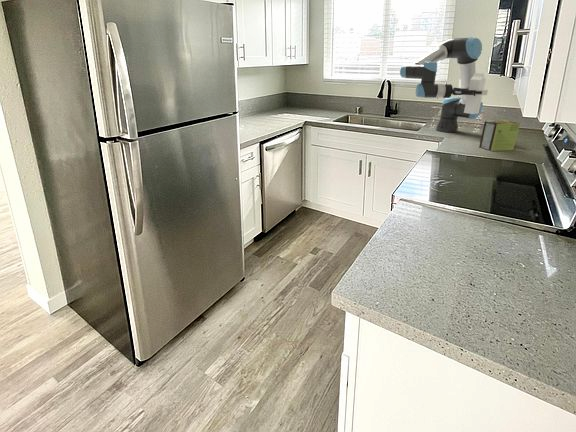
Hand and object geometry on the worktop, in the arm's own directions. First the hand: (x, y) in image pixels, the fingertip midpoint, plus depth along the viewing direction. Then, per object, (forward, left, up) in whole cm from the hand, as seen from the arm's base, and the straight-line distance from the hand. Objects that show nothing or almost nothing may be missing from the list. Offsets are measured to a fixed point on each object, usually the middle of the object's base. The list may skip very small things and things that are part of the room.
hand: (483, 91), depth 215 cm
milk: (0, -5, -12) cm, 13 cm away
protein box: (+8, +11, -31) cm, 34 cm away
